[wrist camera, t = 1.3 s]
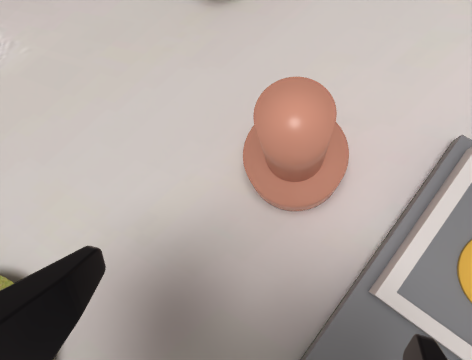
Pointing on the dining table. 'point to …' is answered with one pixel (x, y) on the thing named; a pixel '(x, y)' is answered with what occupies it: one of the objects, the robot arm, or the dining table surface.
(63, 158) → the dining table surface
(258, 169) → the pink flanged peg
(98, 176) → the dining table surface
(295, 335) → the dining table surface
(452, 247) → the station board
